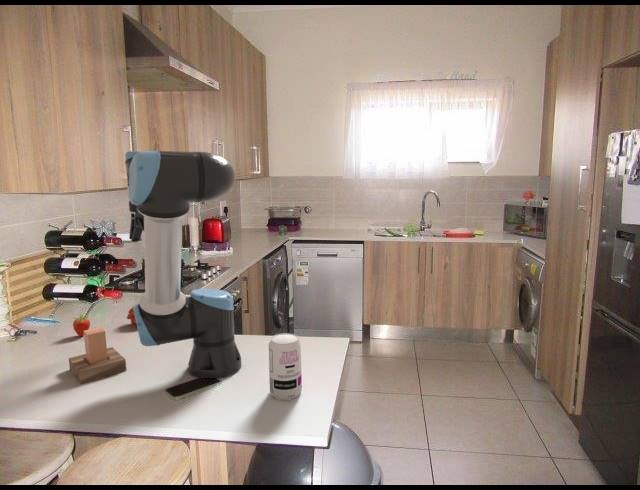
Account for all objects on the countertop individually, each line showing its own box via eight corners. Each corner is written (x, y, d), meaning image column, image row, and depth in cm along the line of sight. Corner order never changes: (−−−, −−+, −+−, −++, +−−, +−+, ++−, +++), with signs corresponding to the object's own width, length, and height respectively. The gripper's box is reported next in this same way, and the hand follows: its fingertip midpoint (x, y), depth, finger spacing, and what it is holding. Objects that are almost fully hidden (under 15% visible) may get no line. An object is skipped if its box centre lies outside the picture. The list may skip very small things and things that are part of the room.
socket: (126, 370, 127) (125, 359, 126) (80, 383, 119) (79, 371, 118) (113, 357, 135) (112, 347, 135) (69, 369, 127) (68, 358, 127)
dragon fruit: (131, 325, 168) (154, 334, 164) (116, 319, 161) (141, 328, 157) (141, 305, 171) (165, 313, 167) (128, 298, 164) (152, 306, 160)
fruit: (79, 333, 157) (77, 311, 155) (93, 333, 156) (91, 311, 155) (70, 338, 151) (68, 316, 150) (85, 338, 151) (83, 316, 150)
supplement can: (285, 382, 119) (284, 330, 116) (308, 392, 113) (307, 337, 111) (263, 394, 112) (261, 339, 110) (286, 405, 107) (285, 347, 105)
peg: (108, 370, 127) (105, 331, 125) (91, 375, 124) (87, 335, 122) (103, 365, 130) (100, 327, 128) (87, 369, 127) (83, 330, 125)
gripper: (168, 200, 135) (172, 267, 139) (138, 197, 154) (142, 256, 157) (144, 202, 130) (149, 271, 134) (116, 198, 149) (121, 259, 152)
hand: (145, 263), depth 146 cm, fingers open, 13 cm apart
